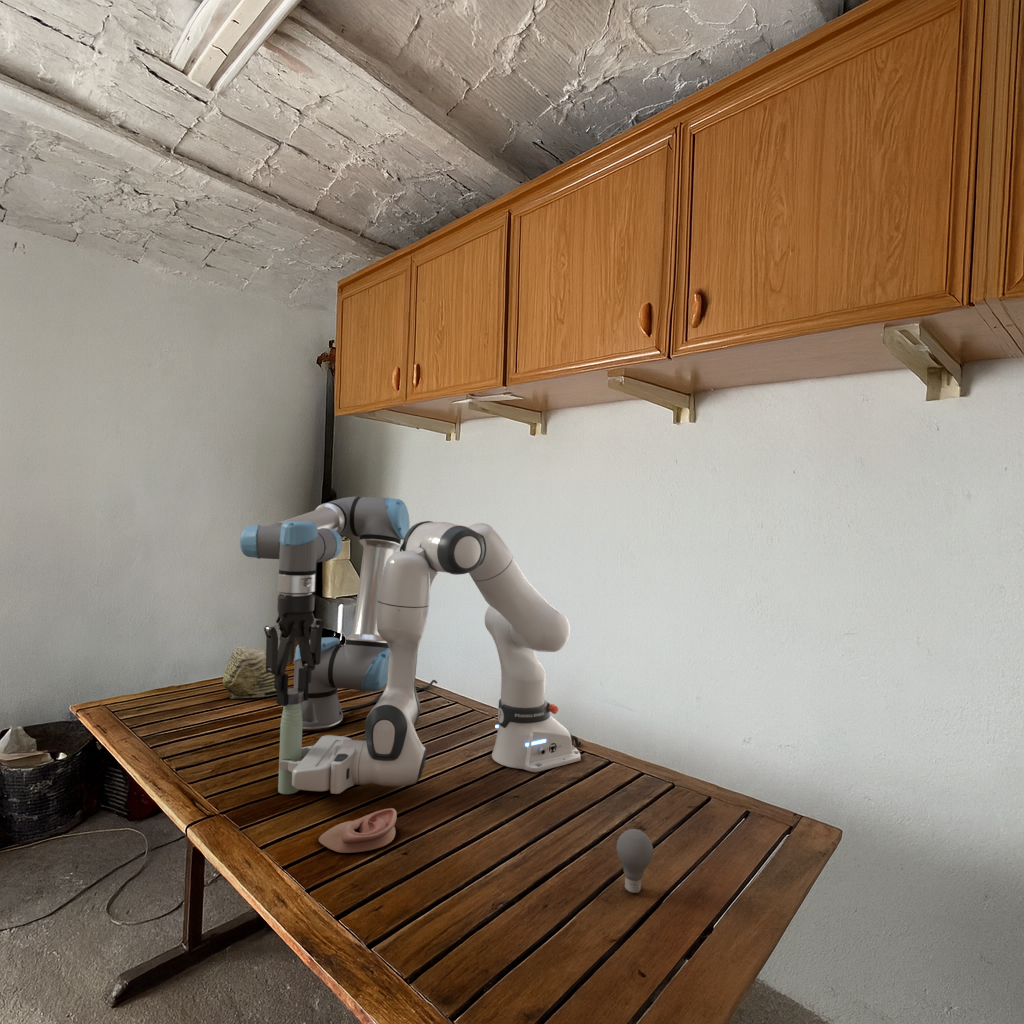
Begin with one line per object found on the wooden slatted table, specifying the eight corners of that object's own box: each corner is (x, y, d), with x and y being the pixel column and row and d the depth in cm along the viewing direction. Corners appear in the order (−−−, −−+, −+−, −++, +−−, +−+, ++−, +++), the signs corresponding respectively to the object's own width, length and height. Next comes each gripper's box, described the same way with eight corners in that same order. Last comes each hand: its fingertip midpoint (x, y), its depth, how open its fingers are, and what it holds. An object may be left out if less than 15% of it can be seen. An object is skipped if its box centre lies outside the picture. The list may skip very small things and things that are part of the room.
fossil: (218, 695, 195) (220, 647, 195) (278, 685, 208) (279, 640, 207) (228, 703, 189) (230, 653, 188) (289, 692, 201) (290, 645, 201)
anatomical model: (310, 826, 114) (340, 797, 125) (309, 848, 114) (339, 817, 125) (379, 837, 111) (403, 806, 122) (378, 859, 111) (403, 827, 123)
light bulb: (610, 879, 108) (613, 822, 108) (644, 879, 109) (647, 822, 109) (619, 902, 102) (622, 840, 102) (655, 901, 103) (658, 840, 103)
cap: (284, 697, 138) (285, 687, 138) (306, 698, 138) (306, 688, 138) (278, 704, 134) (278, 693, 134) (300, 705, 134) (300, 694, 134)
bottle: (304, 789, 137) (307, 693, 136) (285, 796, 133) (288, 698, 133) (293, 783, 140) (296, 688, 139) (274, 789, 136) (277, 693, 136)
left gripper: (269, 599, 126) (265, 715, 127) (341, 592, 140) (336, 696, 141) (248, 595, 131) (244, 707, 131) (320, 588, 145) (316, 689, 145)
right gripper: (362, 729, 146) (303, 726, 147) (336, 766, 126) (267, 763, 126) (361, 756, 146) (302, 753, 147) (335, 798, 126) (266, 794, 126)
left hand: (292, 701), depth 136 cm, fingers closed on cap, 4 cm apart
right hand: (286, 758), depth 136 cm, fingers closed on bottle, 4 cm apart
